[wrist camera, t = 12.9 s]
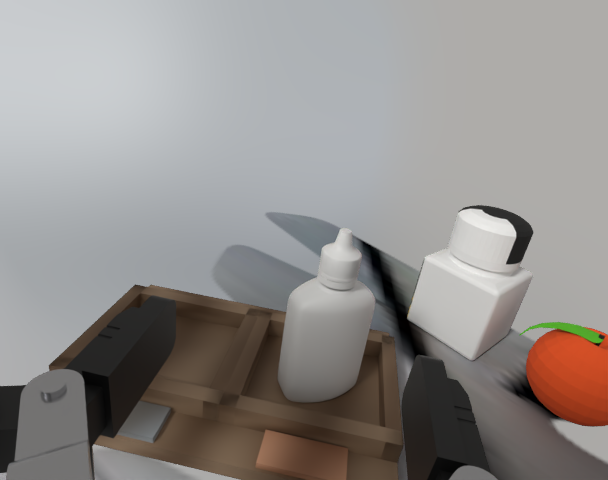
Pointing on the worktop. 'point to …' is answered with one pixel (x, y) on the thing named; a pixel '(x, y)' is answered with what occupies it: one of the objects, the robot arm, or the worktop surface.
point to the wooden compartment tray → (253, 400)
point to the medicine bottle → (474, 281)
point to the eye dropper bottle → (326, 327)
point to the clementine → (571, 373)
